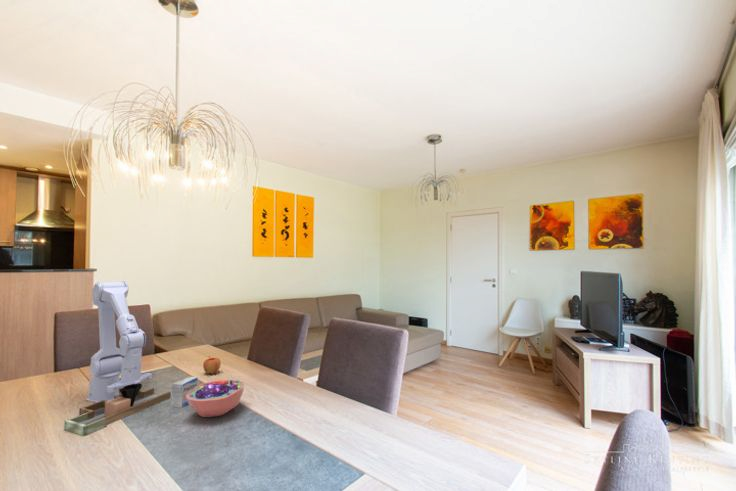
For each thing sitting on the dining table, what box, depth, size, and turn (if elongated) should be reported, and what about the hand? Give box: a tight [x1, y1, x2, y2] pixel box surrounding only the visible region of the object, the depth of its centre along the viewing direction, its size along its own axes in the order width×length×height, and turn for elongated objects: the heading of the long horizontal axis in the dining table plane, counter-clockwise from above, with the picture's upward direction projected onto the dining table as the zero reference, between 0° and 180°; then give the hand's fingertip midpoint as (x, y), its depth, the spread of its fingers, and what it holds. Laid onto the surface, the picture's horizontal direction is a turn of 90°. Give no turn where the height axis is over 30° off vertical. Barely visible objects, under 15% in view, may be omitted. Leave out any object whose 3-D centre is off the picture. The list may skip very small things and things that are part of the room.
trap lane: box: [63, 387, 172, 437], centre depth 116 cm, size 15×29×3 cm, turn 160°
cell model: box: [186, 379, 245, 418], centre depth 117 cm, size 17×20×11 cm
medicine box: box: [171, 376, 199, 408], centre depth 123 cm, size 8×4×9 cm, turn 168°
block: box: [104, 397, 131, 416], centre depth 113 cm, size 5×5×4 cm
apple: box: [202, 355, 221, 375], centre depth 156 cm, size 7×7×8 cm
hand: (129, 406), depth 117 cm, fingers closed
